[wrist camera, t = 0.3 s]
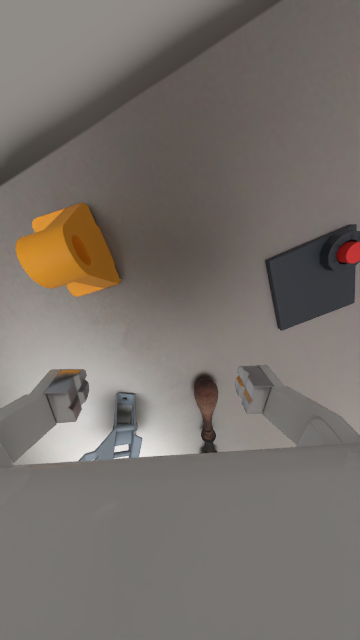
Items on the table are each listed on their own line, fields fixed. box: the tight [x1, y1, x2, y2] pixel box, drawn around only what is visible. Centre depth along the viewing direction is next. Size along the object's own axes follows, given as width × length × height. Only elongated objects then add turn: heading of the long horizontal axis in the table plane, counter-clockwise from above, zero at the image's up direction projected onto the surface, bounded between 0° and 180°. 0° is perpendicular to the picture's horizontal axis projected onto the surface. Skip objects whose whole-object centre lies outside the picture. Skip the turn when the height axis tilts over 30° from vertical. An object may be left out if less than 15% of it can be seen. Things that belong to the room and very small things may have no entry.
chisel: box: [194, 378, 218, 453], centre depth 46 cm, size 5×43×5 cm, turn 6°
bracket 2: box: [79, 393, 142, 461], centre depth 35 cm, size 13×10×15 cm
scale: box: [266, 224, 360, 331], centre depth 31 cm, size 14×14×3 cm
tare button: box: [336, 242, 360, 264], centre depth 27 cm, size 3×3×2 cm
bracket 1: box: [16, 203, 121, 297], centre depth 22 cm, size 11×7×12 cm, turn 16°
